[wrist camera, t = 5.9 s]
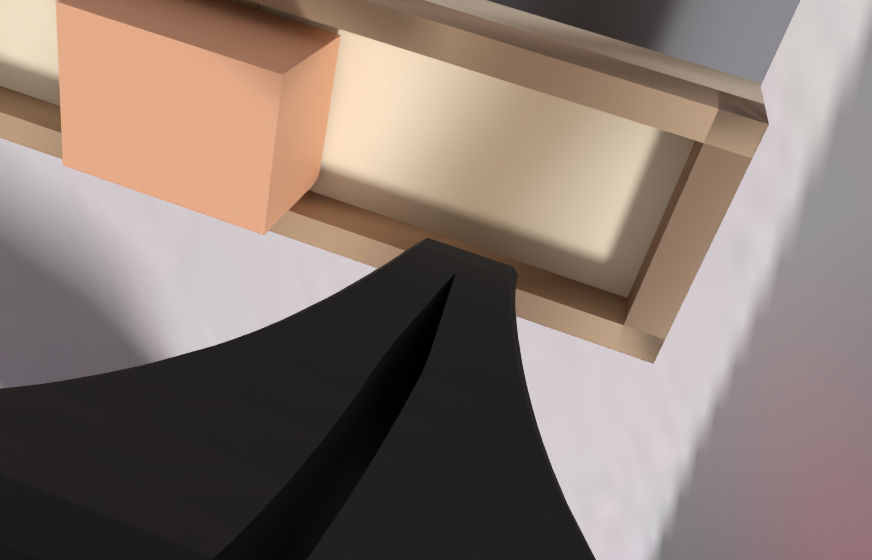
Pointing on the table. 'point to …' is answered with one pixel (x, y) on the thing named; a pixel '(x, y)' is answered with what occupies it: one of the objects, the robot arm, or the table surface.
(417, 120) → the balance beam
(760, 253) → the table surface
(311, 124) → the block
